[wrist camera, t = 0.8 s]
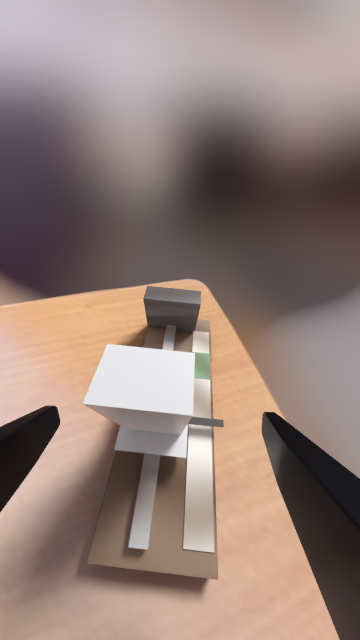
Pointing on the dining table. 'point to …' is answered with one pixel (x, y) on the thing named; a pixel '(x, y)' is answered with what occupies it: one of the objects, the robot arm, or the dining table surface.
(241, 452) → the dining table surface
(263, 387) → the dining table surface
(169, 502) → the base
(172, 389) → the slider
